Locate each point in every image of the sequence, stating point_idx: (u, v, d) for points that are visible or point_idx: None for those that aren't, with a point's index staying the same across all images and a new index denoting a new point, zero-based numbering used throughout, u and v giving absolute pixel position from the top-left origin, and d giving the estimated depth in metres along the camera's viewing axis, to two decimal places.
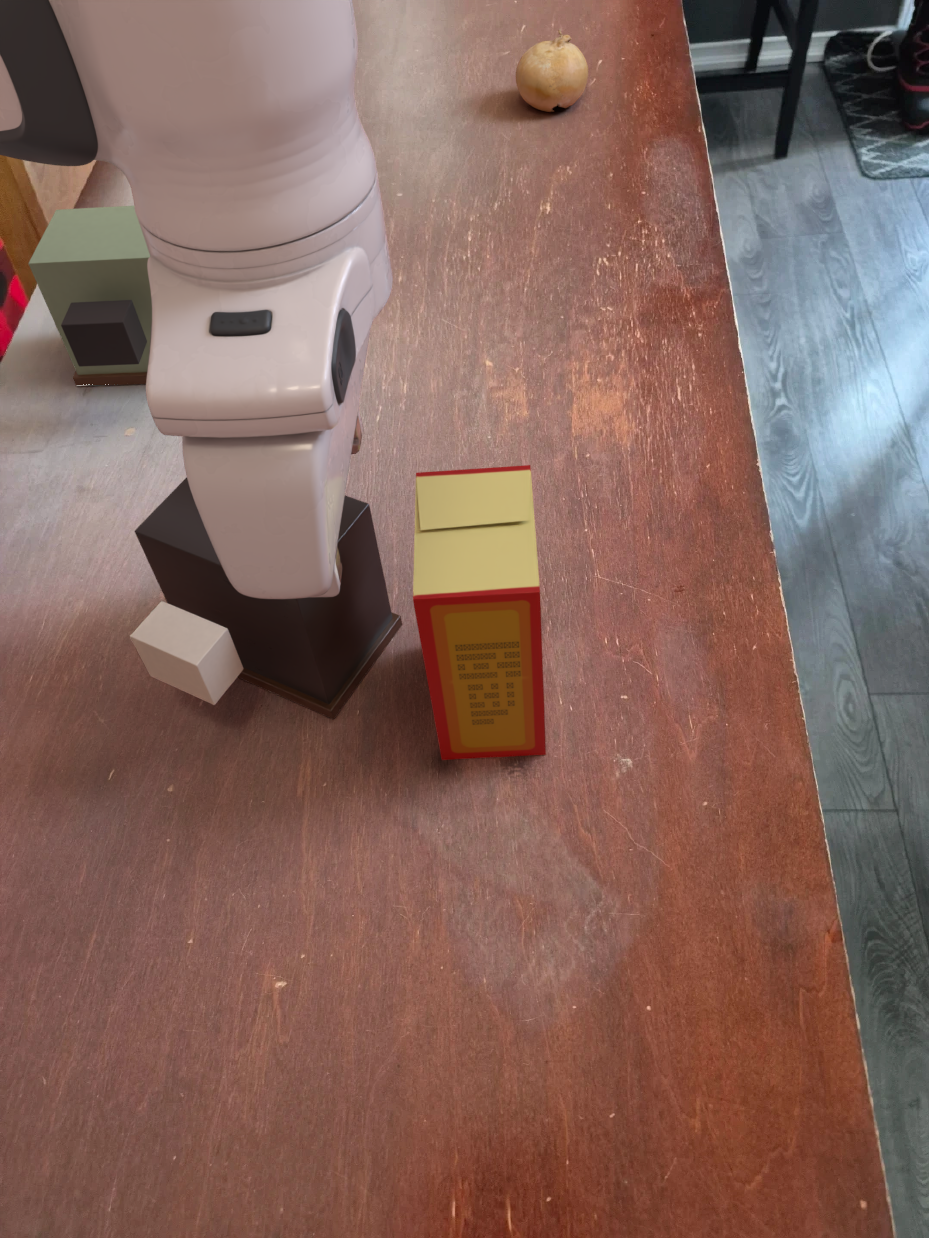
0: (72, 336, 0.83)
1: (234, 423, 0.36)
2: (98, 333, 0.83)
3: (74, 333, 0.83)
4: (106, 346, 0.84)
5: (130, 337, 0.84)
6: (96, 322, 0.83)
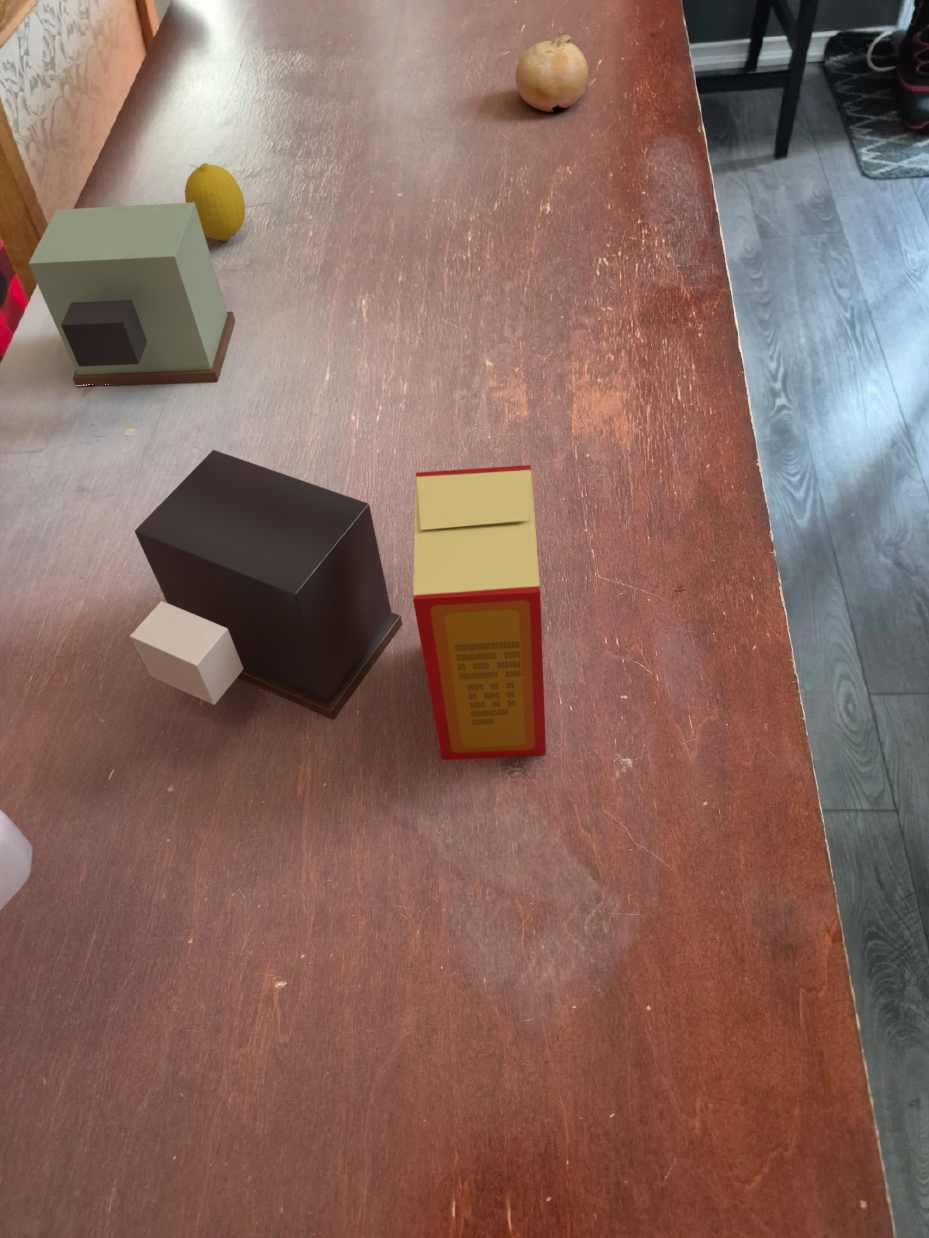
0: (72, 336, 0.83)
1: None
2: (98, 333, 0.83)
3: (74, 333, 0.83)
4: (106, 346, 0.84)
5: (130, 337, 0.84)
6: (96, 322, 0.83)
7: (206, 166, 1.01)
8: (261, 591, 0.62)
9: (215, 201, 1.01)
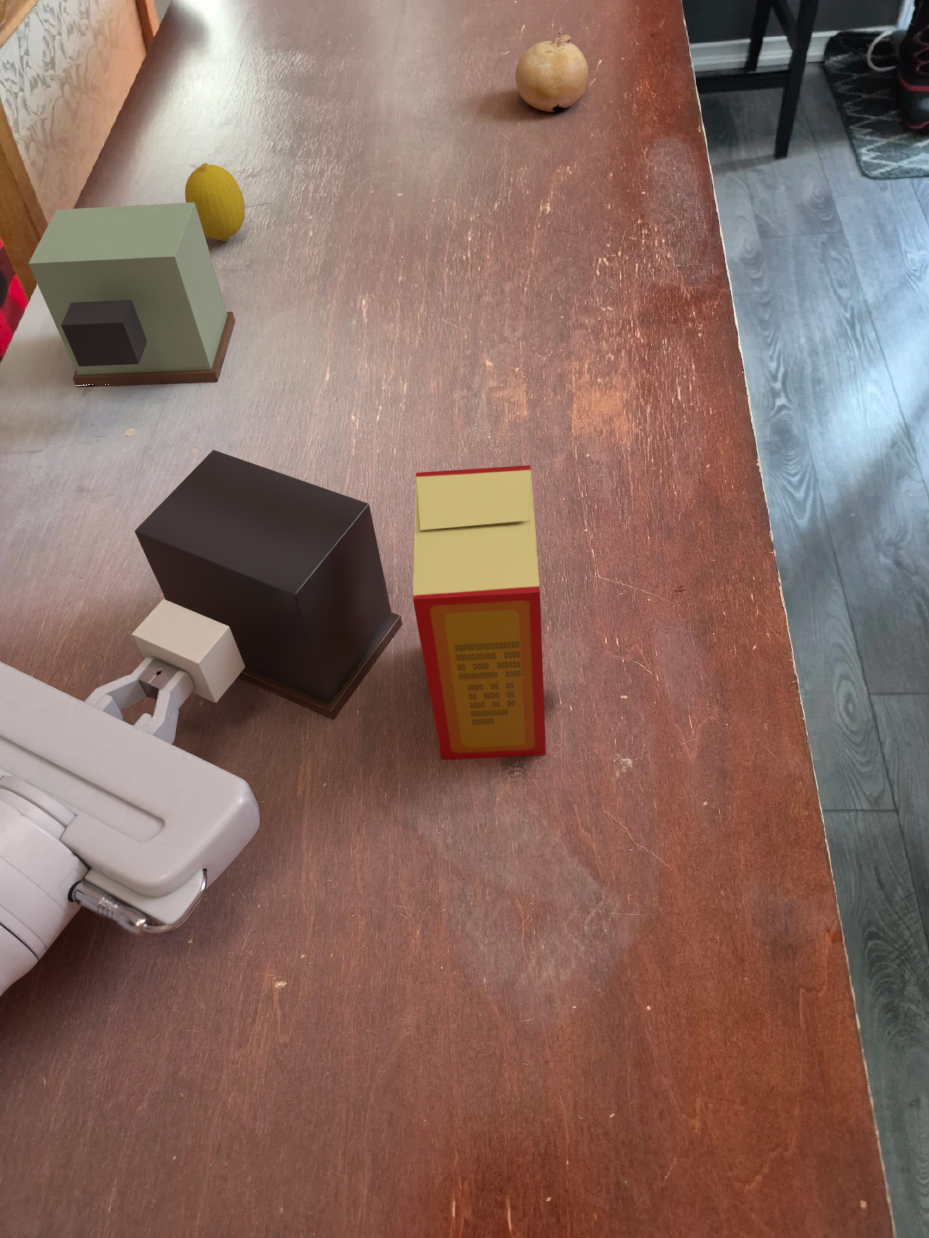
0: (72, 336, 0.83)
1: None
2: (98, 333, 0.83)
3: (74, 333, 0.83)
4: (106, 346, 0.84)
5: (130, 337, 0.84)
6: (96, 322, 0.83)
7: (206, 166, 1.01)
8: (261, 591, 0.62)
9: (215, 201, 1.01)
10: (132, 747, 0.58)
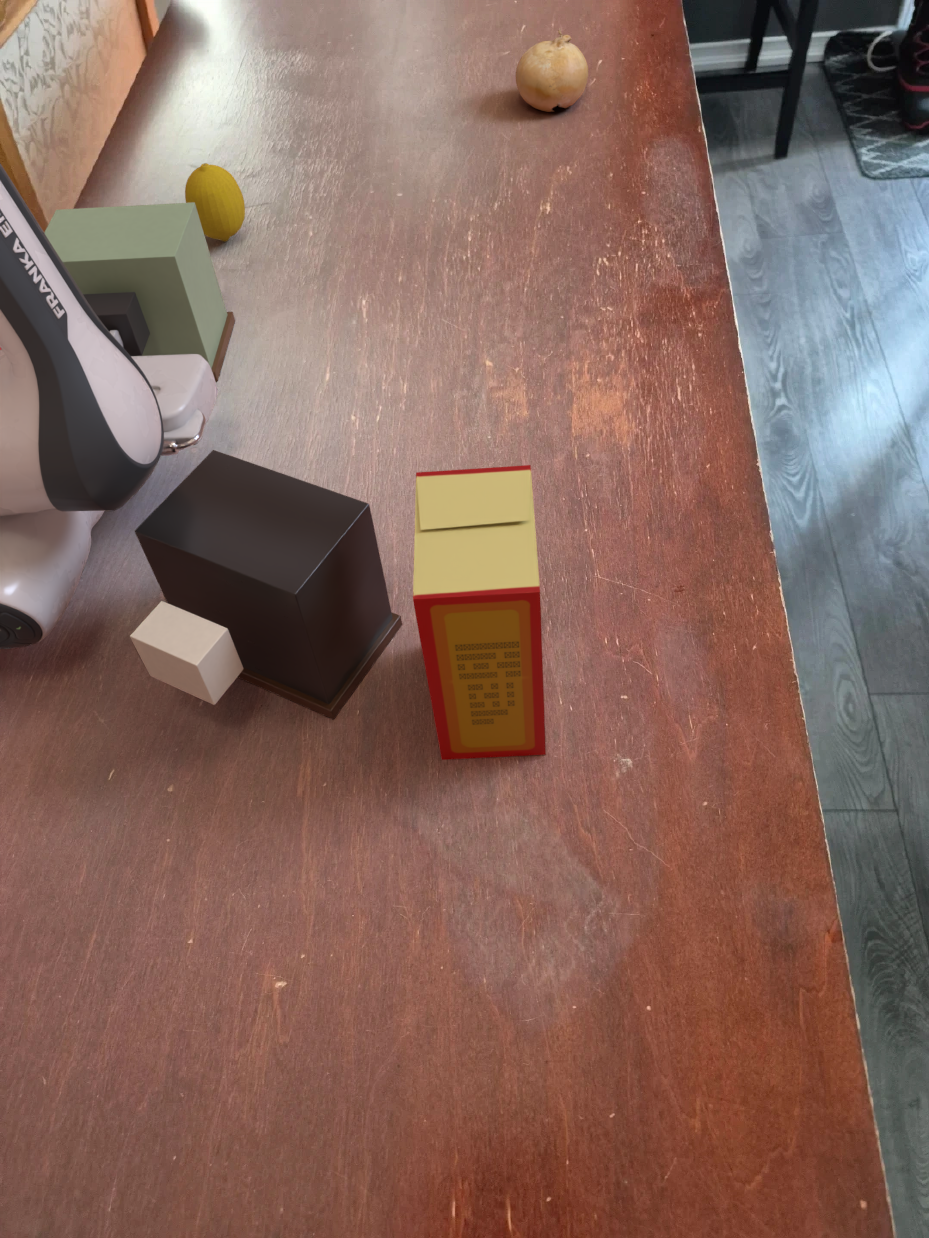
0: None
1: None
2: None
3: None
4: None
5: (133, 329, 0.84)
6: (100, 313, 0.83)
7: (206, 166, 1.01)
8: (261, 591, 0.62)
9: (215, 201, 1.01)
10: None
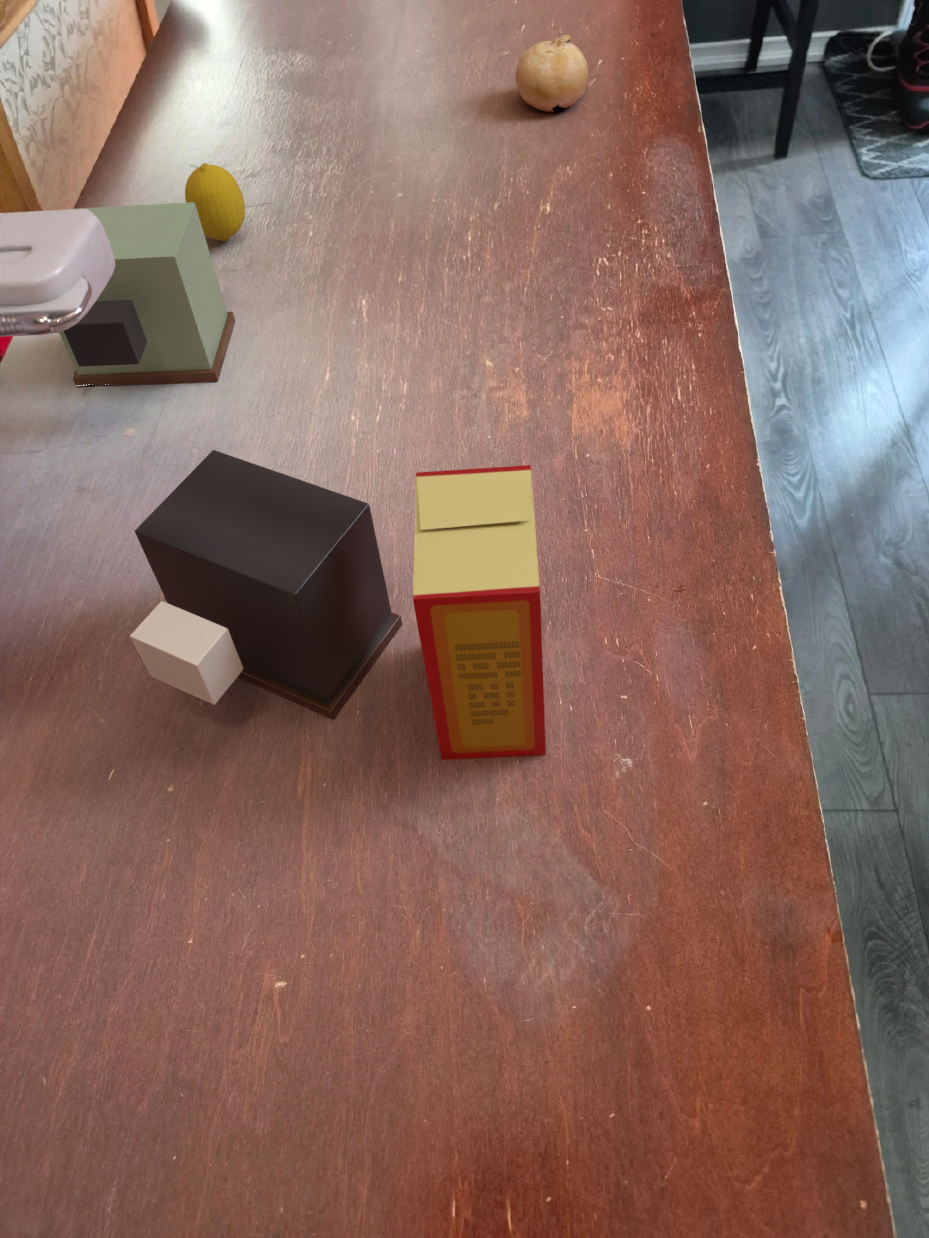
0: (72, 336, 0.83)
1: None
2: (98, 333, 0.83)
3: (74, 333, 0.83)
4: (106, 346, 0.84)
5: (130, 337, 0.84)
6: (96, 322, 0.83)
7: (206, 166, 1.01)
8: (261, 591, 0.62)
9: (215, 201, 1.01)
10: None
